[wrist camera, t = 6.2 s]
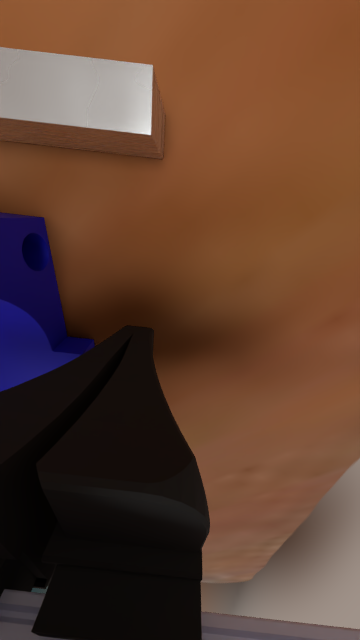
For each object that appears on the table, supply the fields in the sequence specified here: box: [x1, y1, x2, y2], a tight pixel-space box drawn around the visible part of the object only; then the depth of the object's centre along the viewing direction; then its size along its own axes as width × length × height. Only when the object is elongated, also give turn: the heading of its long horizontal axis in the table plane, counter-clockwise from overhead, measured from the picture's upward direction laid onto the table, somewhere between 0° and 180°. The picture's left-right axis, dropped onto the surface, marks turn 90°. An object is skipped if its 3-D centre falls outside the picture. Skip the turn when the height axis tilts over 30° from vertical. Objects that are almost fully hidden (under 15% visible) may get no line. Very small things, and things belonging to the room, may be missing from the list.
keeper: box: [0, 47, 165, 159], centre depth 9 cm, size 9×18×3 cm, turn 174°
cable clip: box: [0, 212, 95, 392], centre depth 9 cm, size 12×4×6 cm, turn 174°
